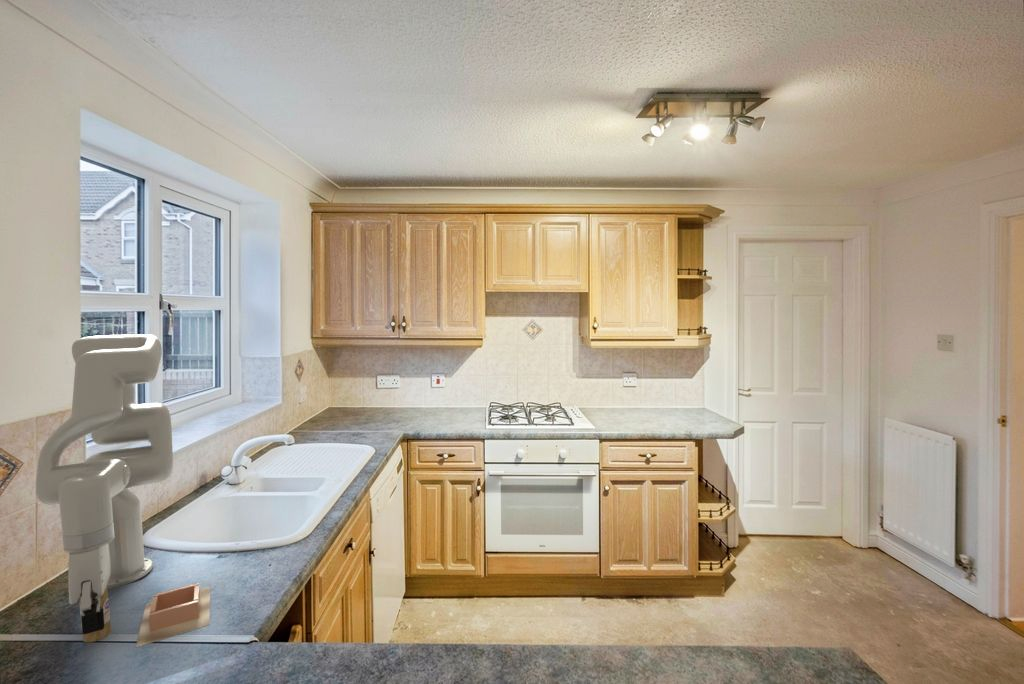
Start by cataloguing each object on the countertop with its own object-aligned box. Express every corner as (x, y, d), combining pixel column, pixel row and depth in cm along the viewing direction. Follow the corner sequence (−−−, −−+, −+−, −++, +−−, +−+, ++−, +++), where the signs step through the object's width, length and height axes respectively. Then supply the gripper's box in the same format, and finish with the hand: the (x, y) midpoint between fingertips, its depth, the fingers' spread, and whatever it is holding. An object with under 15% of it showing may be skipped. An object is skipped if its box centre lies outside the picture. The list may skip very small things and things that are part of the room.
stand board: (146, 608, 105) (146, 603, 105) (210, 591, 111) (210, 586, 111) (136, 653, 92) (135, 647, 91) (209, 630, 98) (209, 624, 98)
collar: (154, 610, 103) (153, 594, 102) (200, 597, 107) (199, 582, 107) (150, 631, 96) (149, 615, 95) (199, 617, 100) (198, 601, 100)
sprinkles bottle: (110, 640, 95) (105, 576, 93) (79, 650, 92) (74, 584, 91) (113, 627, 98) (108, 565, 97) (84, 636, 96) (79, 572, 95)
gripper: (74, 523, 98) (81, 606, 100) (50, 561, 84) (59, 658, 86) (120, 514, 102) (127, 594, 104) (105, 549, 88) (113, 642, 90)
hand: (96, 622), depth 95 cm, fingers closed on sprinkles bottle, 4 cm apart
